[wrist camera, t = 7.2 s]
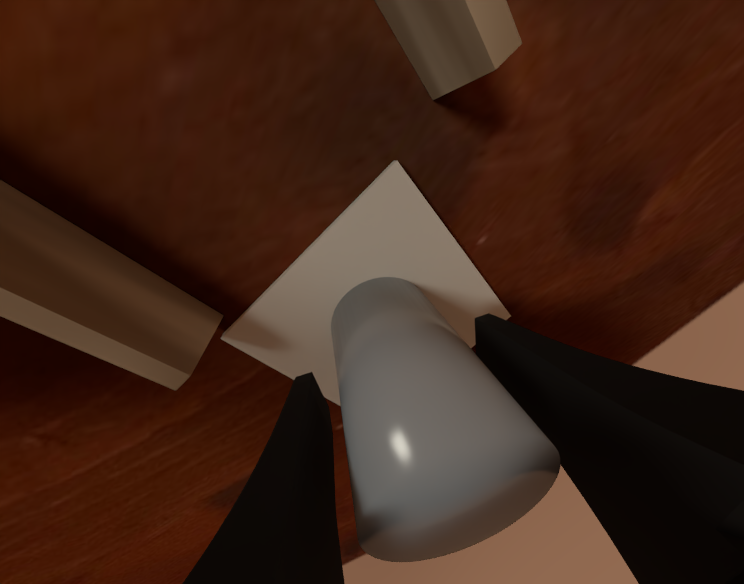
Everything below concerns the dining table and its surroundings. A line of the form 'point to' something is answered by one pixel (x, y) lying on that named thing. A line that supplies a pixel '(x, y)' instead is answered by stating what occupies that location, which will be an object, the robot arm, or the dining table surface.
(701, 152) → the dining table surface
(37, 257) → the frame
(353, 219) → the coaster
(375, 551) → the grey domed cylinder
